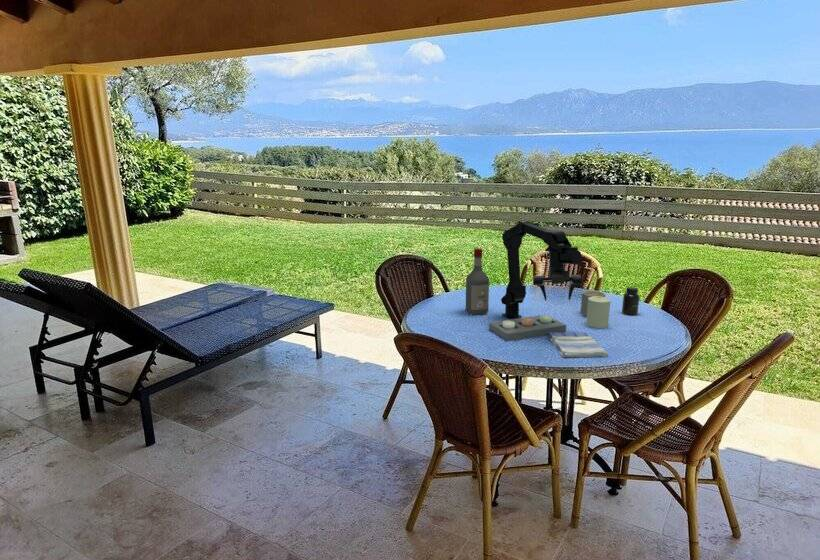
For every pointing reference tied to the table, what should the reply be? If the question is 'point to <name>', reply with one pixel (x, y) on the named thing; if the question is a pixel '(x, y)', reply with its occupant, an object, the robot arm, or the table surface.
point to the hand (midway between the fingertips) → (557, 300)
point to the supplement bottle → (630, 301)
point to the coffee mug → (585, 300)
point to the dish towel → (576, 344)
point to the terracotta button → (527, 322)
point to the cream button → (508, 325)
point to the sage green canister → (598, 312)
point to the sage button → (545, 319)
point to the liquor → (477, 287)
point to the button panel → (526, 329)
